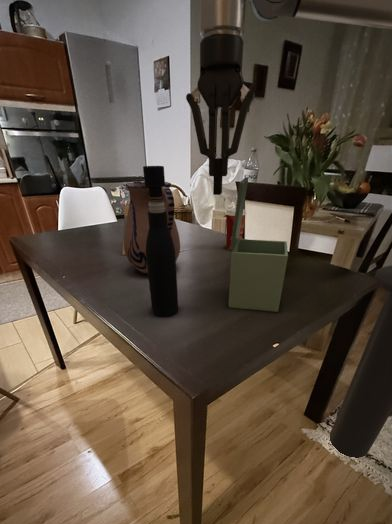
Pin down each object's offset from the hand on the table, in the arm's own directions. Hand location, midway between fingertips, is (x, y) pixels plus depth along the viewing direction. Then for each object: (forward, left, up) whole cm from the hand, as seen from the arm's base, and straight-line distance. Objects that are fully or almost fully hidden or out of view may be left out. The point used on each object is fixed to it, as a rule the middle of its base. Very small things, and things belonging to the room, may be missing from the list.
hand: (217, 193), depth 62 cm
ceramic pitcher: (+21, -15, -25) cm, 36 cm away
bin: (-11, 0, -24) cm, 27 cm away
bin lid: (-6, 0, -4) cm, 7 cm away
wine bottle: (+10, +11, -25) cm, 29 cm away
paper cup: (0, -45, -25) cm, 51 cm away
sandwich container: (+38, -37, -25) cm, 59 cm away
